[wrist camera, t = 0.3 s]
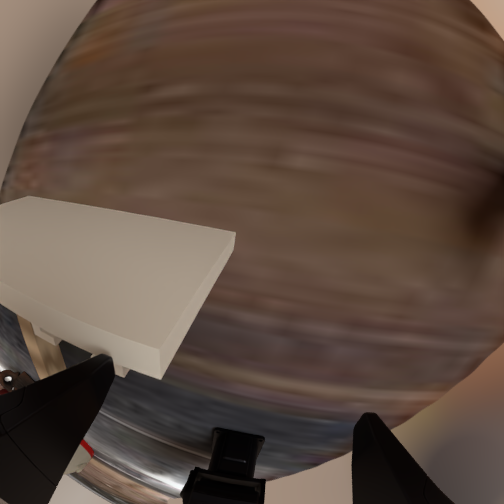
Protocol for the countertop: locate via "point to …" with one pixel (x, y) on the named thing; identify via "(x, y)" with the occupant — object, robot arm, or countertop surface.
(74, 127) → the countertop surface
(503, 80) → the countertop surface
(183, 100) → the countertop surface
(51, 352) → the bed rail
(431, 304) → the countertop surface
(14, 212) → the white angular piece
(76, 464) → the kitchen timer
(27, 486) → the robot arm
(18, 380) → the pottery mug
